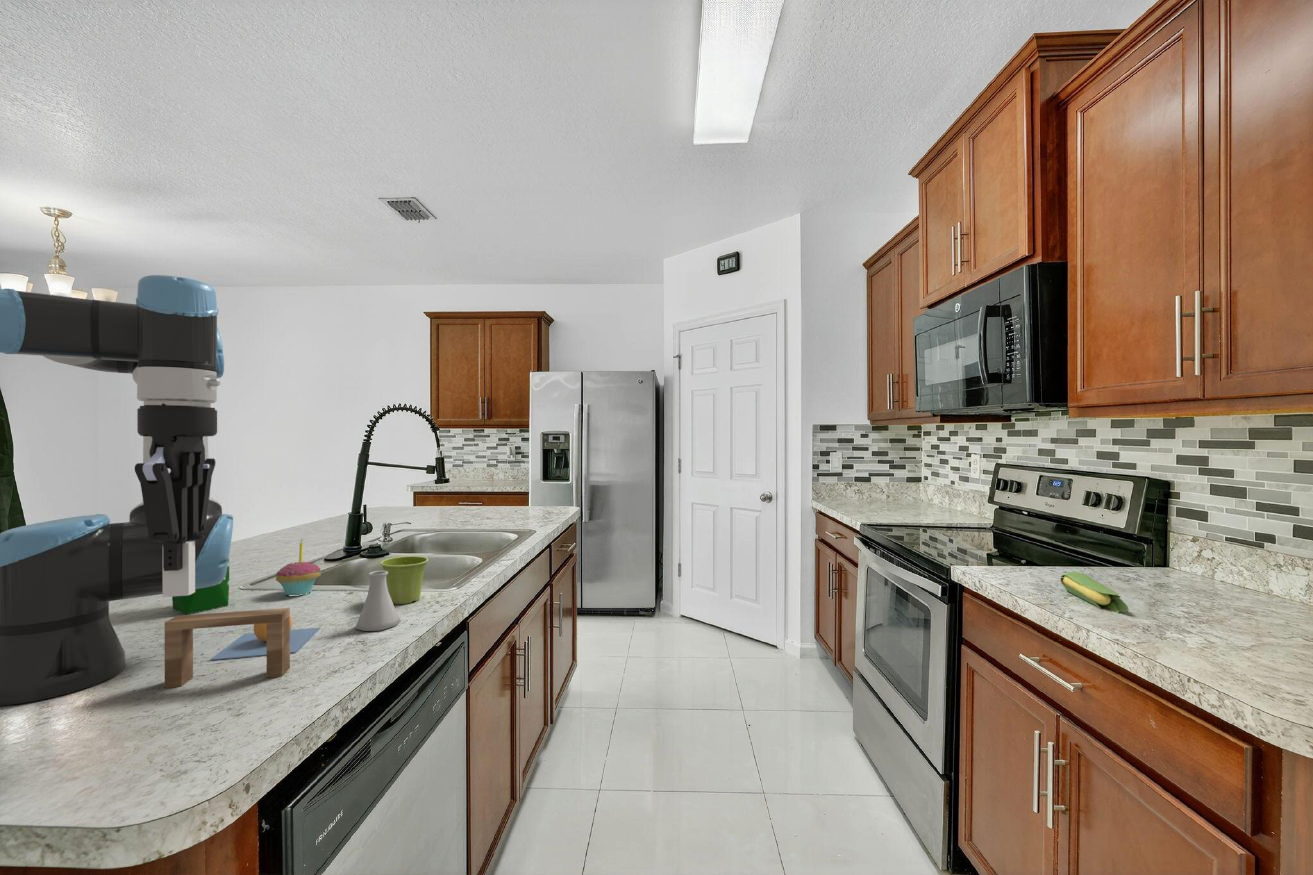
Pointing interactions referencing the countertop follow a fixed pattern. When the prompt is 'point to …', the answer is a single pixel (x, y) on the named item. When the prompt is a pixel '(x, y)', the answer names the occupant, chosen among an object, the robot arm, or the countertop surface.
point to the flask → (377, 605)
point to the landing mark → (262, 645)
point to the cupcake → (298, 576)
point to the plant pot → (404, 578)
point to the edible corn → (1092, 591)
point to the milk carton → (204, 598)
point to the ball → (264, 630)
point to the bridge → (182, 626)
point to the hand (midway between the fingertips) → (179, 594)
